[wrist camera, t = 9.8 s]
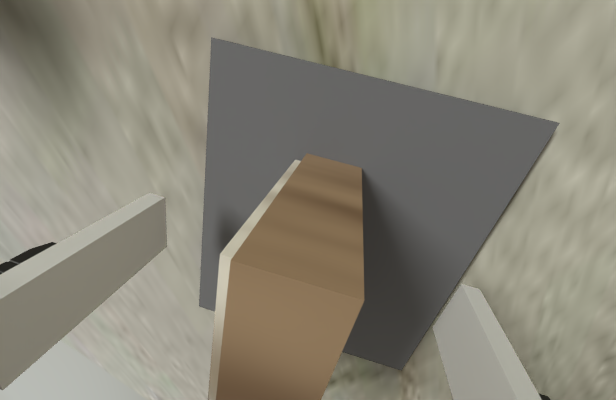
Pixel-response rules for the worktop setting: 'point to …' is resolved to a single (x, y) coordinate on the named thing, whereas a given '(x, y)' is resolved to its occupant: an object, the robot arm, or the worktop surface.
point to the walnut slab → (290, 286)
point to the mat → (365, 177)
